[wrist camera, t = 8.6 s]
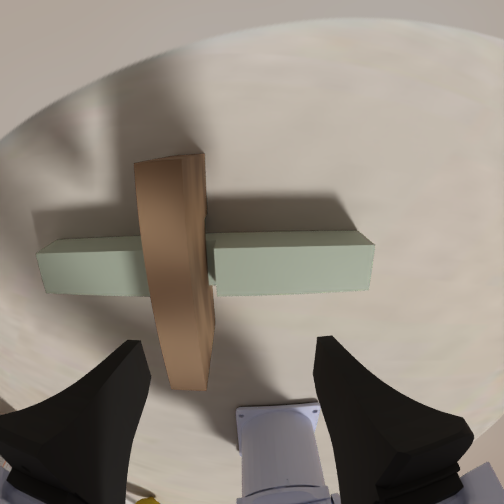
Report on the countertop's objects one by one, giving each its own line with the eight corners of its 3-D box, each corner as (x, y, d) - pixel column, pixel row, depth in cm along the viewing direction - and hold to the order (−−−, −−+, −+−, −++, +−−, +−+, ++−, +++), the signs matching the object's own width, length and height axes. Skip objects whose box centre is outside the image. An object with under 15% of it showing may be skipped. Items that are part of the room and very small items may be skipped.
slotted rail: (353, 271, 20) (368, 290, 18) (65, 275, 20) (46, 293, 17) (357, 230, 19) (375, 245, 17) (57, 239, 19) (35, 253, 16)
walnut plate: (215, 322, 22) (206, 390, 15) (188, 322, 22) (171, 389, 15) (204, 153, 17) (181, 158, 11) (173, 155, 17) (133, 163, 11)
